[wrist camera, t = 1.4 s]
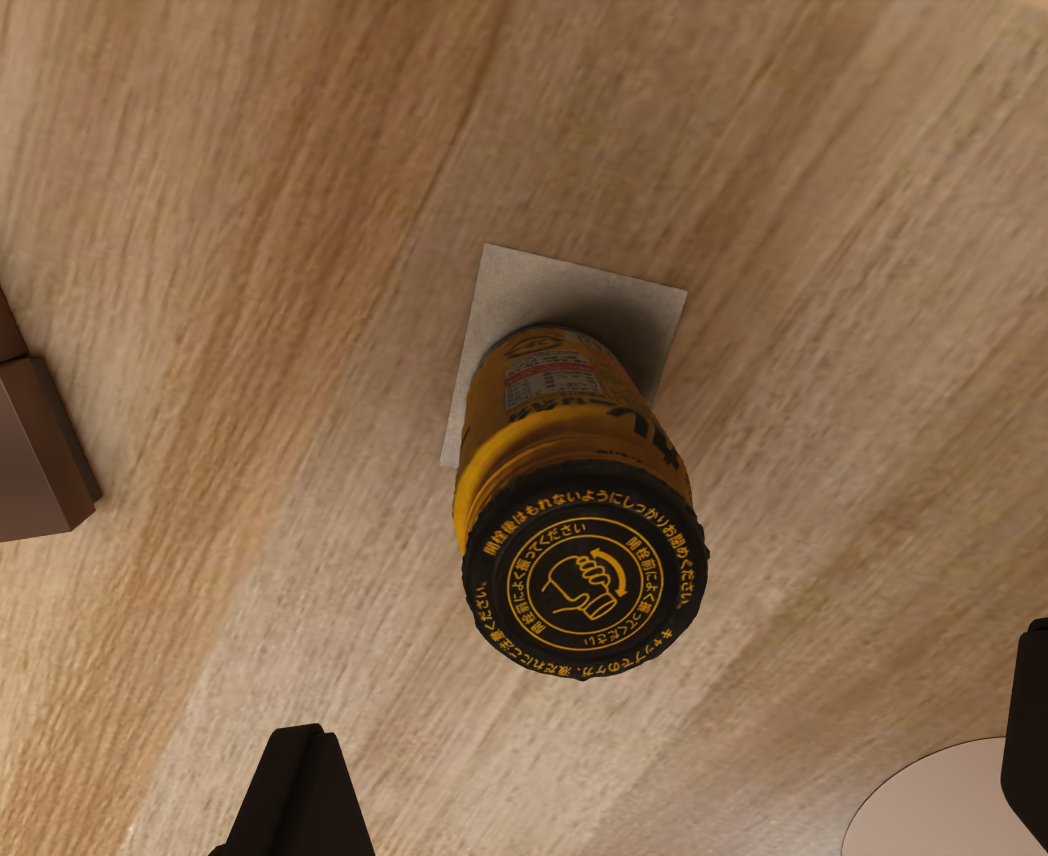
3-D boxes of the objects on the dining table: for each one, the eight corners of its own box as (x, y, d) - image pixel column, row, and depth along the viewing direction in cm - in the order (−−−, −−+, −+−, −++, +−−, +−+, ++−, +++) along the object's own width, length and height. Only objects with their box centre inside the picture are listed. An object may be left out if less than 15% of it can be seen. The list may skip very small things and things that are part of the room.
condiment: (439, 463, 26) (395, 690, 14) (484, 242, 23) (474, 310, 11) (620, 498, 26) (711, 738, 15) (686, 289, 24) (859, 396, 12)
